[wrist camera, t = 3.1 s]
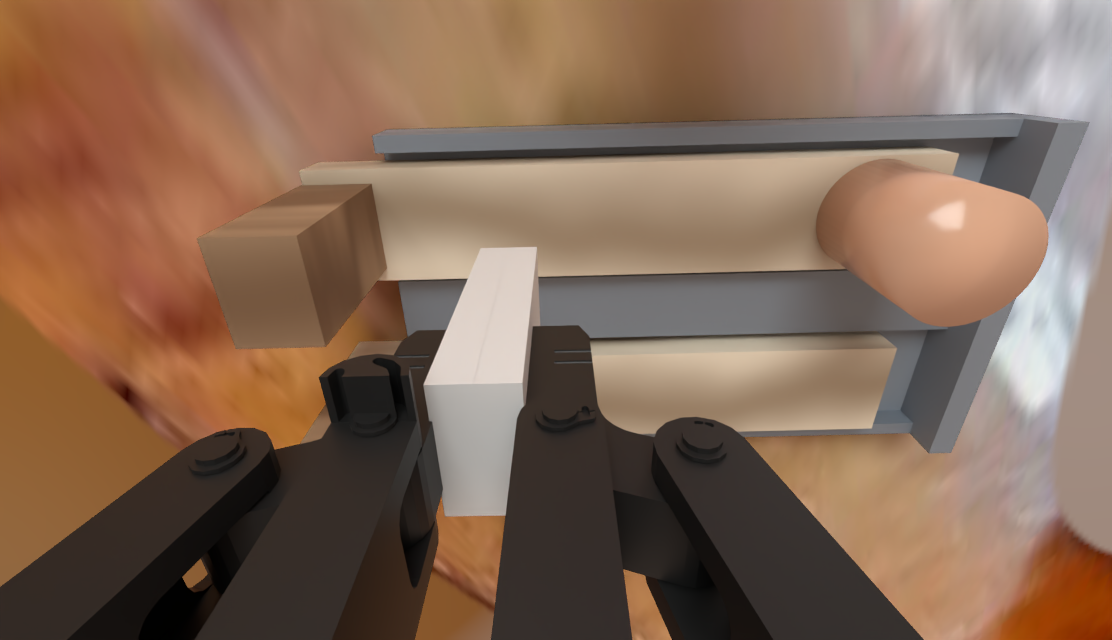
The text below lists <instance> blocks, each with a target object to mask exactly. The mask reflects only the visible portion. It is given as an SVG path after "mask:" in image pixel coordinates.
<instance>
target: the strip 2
mask: <svg viewBox="0 0 1112 640" xmlns="http://www.w3.org/2000/svg"><path fill="white" fill-rule="evenodd" d="M401 342H402V341H365V342H359V343H358V344H357V346H356V347H355V349H354V350H353V352H352V353H351V355H350V356H349V358H348V359H351V358H355V357H358V356H363V355H371V354H387V355H394V353H395V352H396V350H397V348H398V346H399V345H400V343H401ZM590 345H591V353H592V363H593V369H594V378H595V386H596V394H597V402H598V406H599V409H600V411H601V413H602V414H603V416H604V417H605V418H606V419H607V420H608V421H610V422H611V423H612V424H614V425H615V426H617V427H619V428H622V429H624V430H626V431H630V432H633V433H637V434H656V431H657V430H658V429H659V428H660V427H661V426H663V425H664V424H665V423H666V422H669V421H672V420H675V419H678V418H682V417H701V418H706V419H711V420H716V421H718V422H720V423H723V424H725V425H727V426H729V427H732V428H733V429H734V430H735V431H736V432H743V431H785V430H828V429H870V428H872V426H873V422H874V419H875V416H876V413H877V410H878V407H879V404H880V401H881V397H882V394H883V391H884V388H885V385H886V382H887V379H888V376H889V372H890V369H891V366H892V363H893V360H894V357H895V354H896V351H897V348H896V347H895V346H894V345H893V344H892V343H890V342H889V341H888V340H887V339H886V338H884V337H883V336H882V335H881V334H880V333H879V332H877V331H854V332H813V333H772V334H731V335H691V336H650V337H609V338H590ZM348 359H347V360H348ZM330 424H331V421H330V417H329V413H328V409H327V406H326V405H325V406H324V408H323V409H322V411H321V412H320V414H319V415H318V417H317V419H316V420H315V422H314V423H313V425H312V426H311V428H310V429H309V431H308V432H307V434H306V435H305V437H304V438H303V440H302V441H301V443H300V444H303V443H307V442H311V441H315V440H318V439H321V438H322V437H323V435H324V433H325V432H326V430H327V429H328V427H329V425H330Z"/></svg>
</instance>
